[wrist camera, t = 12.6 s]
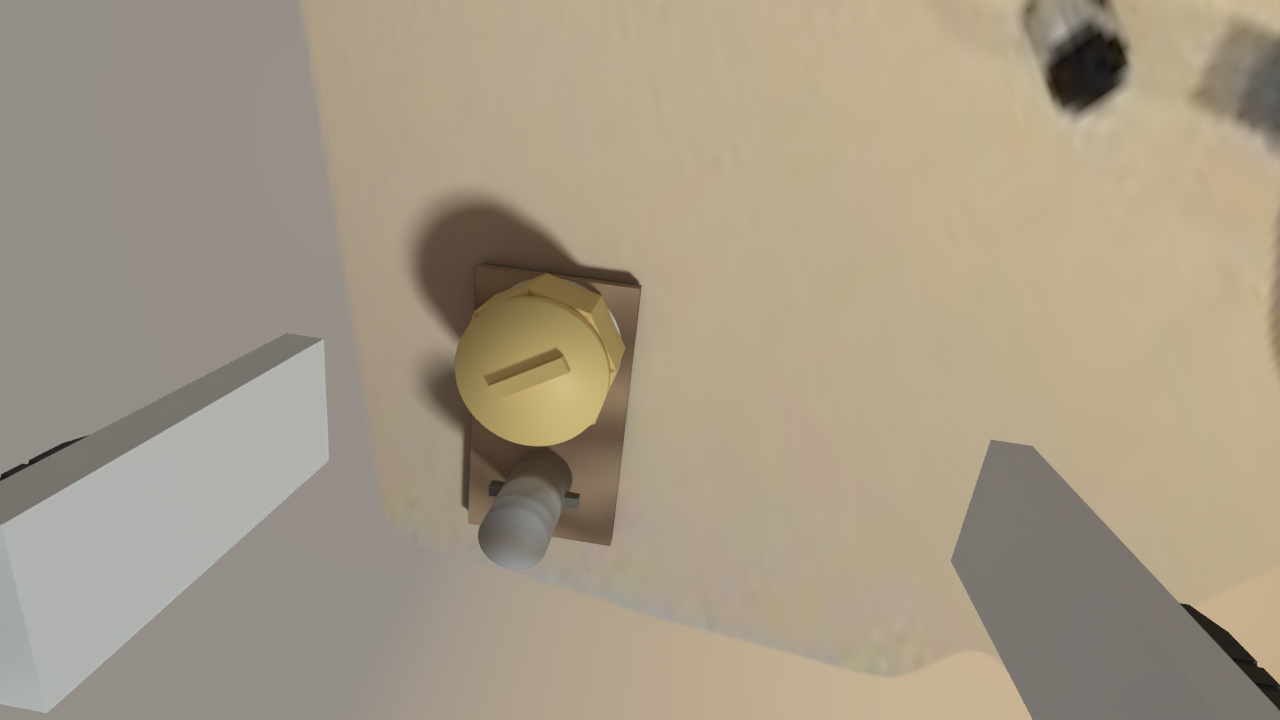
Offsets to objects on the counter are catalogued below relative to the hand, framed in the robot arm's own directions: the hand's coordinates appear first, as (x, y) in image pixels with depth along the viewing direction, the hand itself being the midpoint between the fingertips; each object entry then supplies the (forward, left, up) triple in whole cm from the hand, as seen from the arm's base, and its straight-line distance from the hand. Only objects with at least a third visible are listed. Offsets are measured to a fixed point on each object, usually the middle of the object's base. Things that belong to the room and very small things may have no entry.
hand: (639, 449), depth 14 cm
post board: (+15, -8, -33) cm, 37 cm away
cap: (+10, -8, -31) cm, 34 cm away
